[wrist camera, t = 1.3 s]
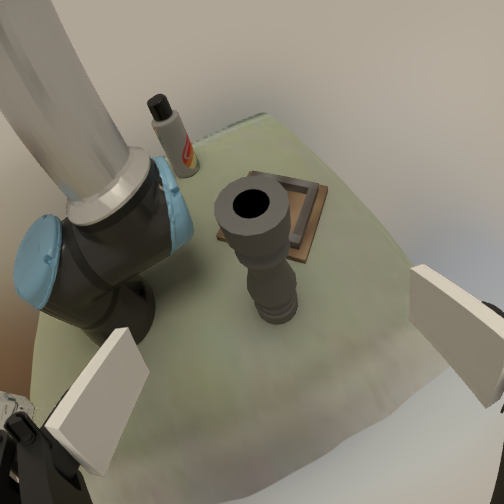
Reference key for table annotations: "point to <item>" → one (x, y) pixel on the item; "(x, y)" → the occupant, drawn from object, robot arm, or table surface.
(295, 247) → the socket plate
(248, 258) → the candle holder
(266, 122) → the table surface
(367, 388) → the table surface
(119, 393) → the robot arm
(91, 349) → the table surface
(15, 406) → the ink box
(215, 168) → the table surface
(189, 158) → the lotion bottle
